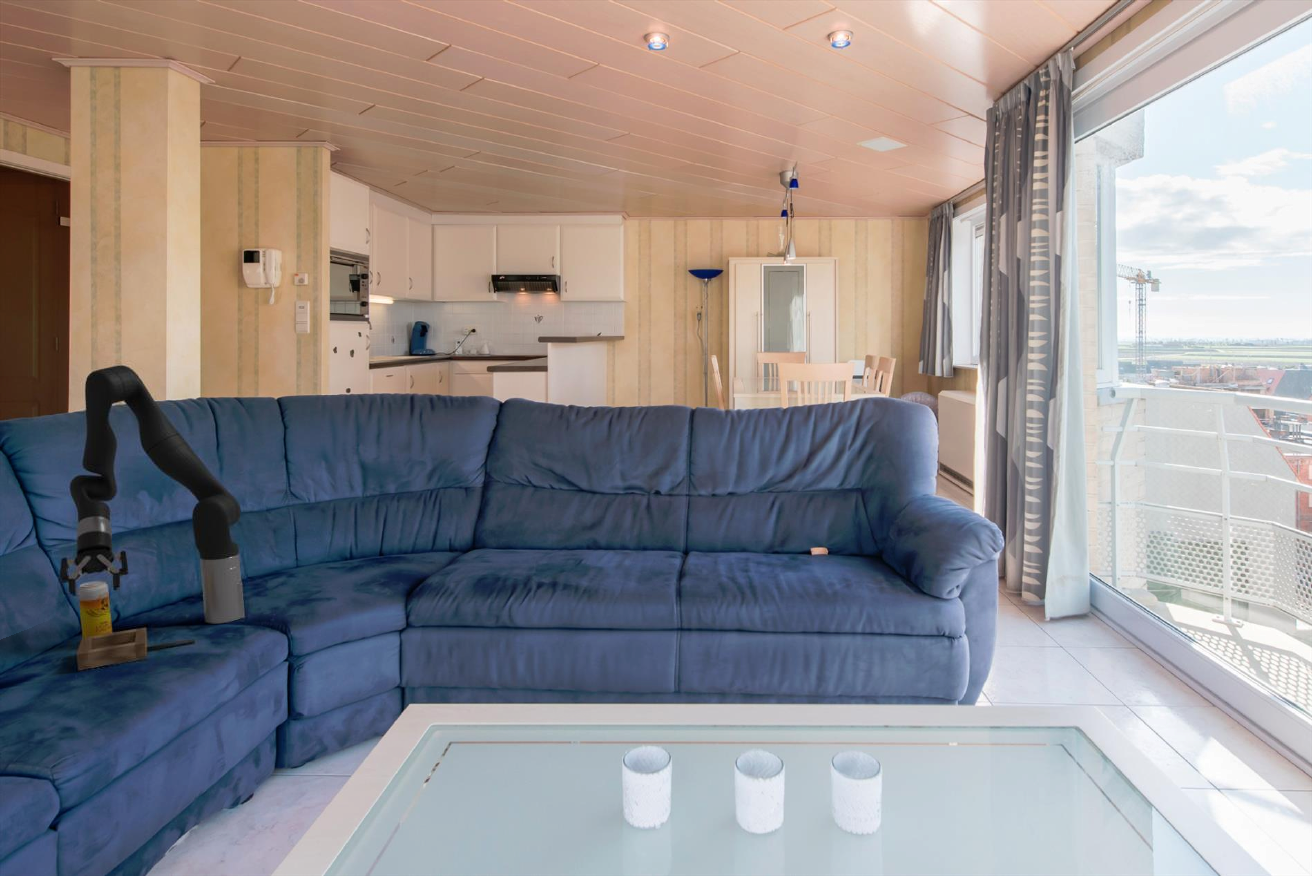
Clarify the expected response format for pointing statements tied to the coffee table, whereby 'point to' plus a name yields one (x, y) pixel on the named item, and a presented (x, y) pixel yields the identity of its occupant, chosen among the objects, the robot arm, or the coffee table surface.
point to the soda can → (94, 608)
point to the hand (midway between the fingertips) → (94, 591)
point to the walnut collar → (116, 648)
